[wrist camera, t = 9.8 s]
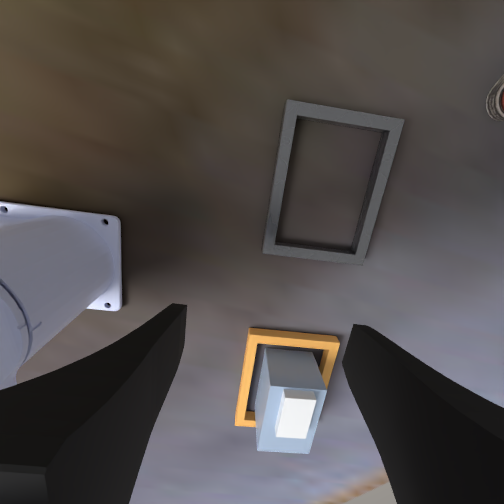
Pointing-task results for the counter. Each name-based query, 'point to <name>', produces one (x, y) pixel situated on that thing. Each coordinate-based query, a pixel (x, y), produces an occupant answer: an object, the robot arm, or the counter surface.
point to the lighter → (496, 101)
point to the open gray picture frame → (373, 194)
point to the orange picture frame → (285, 339)
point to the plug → (288, 401)
